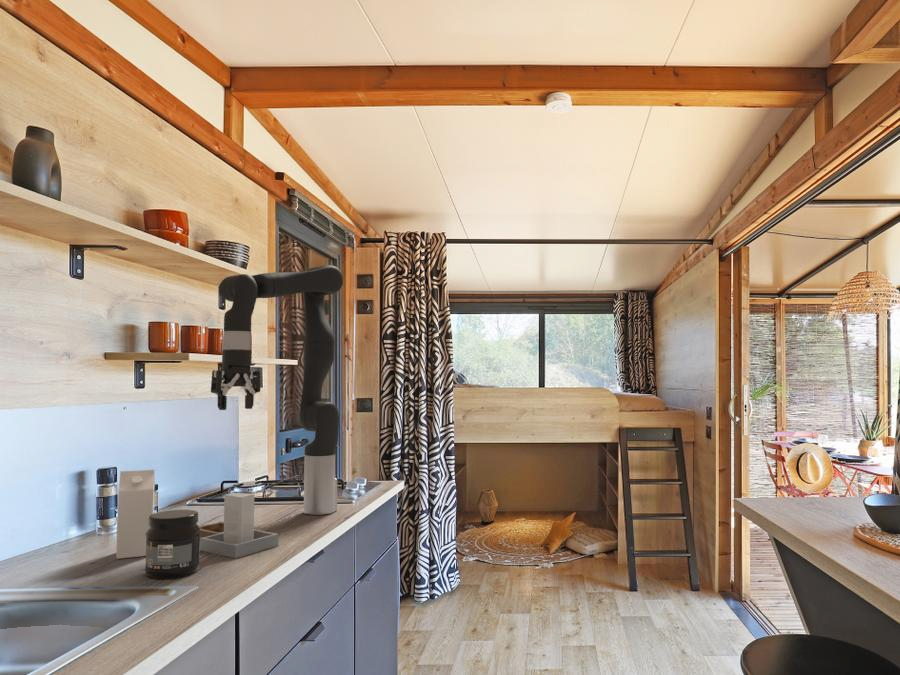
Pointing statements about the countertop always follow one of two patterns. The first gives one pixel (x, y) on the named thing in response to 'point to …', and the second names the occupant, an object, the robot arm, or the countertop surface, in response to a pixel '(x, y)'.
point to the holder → (211, 529)
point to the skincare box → (238, 518)
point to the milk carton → (134, 512)
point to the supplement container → (172, 544)
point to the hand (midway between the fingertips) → (235, 409)
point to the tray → (238, 550)
